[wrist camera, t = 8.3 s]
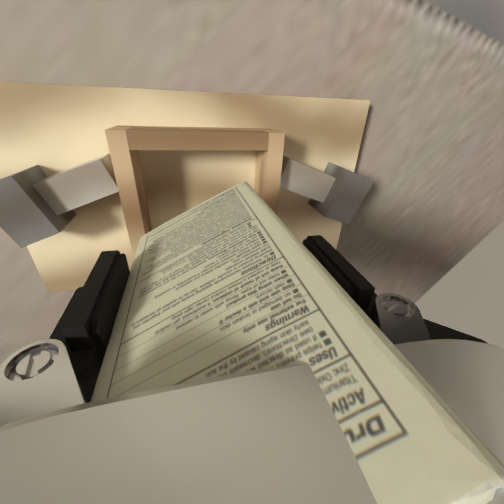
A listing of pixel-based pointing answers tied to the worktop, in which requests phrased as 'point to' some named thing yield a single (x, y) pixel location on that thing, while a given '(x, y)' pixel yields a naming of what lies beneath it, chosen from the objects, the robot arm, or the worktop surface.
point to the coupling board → (164, 165)
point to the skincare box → (287, 345)
